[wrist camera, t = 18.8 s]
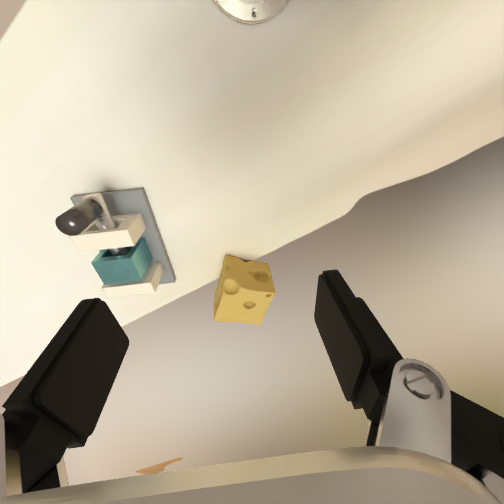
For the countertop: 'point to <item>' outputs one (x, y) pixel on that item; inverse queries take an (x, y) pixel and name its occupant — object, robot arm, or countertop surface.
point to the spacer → (123, 264)
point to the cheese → (243, 291)
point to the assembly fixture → (128, 239)
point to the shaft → (88, 219)
